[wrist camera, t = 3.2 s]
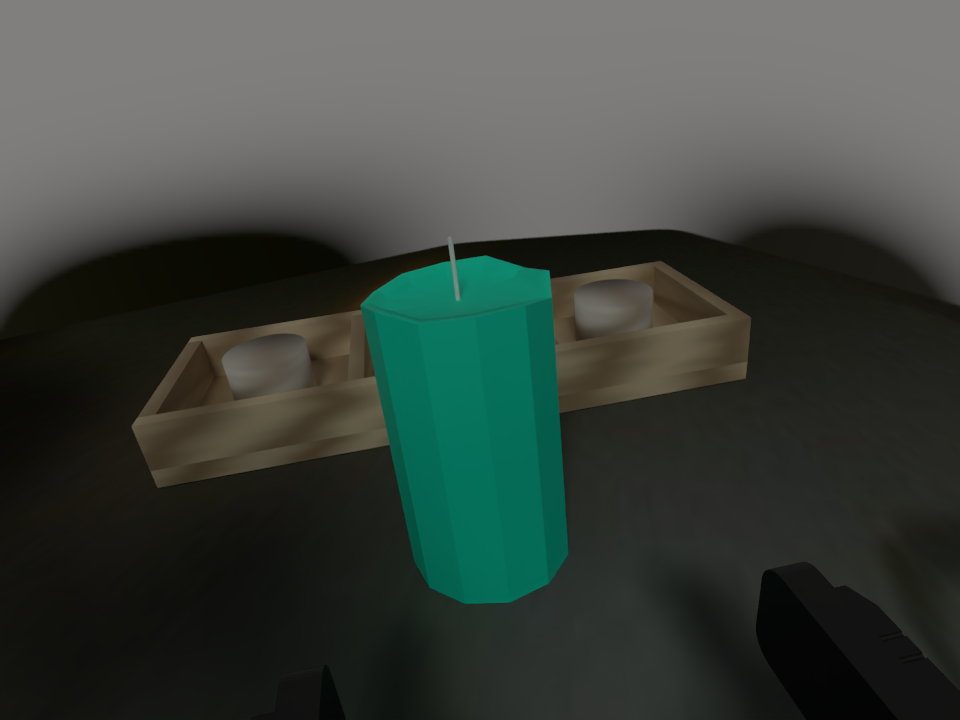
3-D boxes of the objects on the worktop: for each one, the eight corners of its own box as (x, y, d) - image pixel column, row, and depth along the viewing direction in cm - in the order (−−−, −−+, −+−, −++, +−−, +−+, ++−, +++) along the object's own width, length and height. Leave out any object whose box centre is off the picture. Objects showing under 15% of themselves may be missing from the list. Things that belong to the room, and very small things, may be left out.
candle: (485, 636, 20) (431, 284, 14) (383, 547, 24) (313, 250, 19) (602, 538, 23) (592, 223, 18) (495, 475, 27) (462, 206, 22)
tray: (157, 488, 29) (127, 417, 28) (209, 387, 39) (189, 330, 37) (745, 378, 32) (752, 308, 31) (660, 310, 42) (661, 253, 40)
